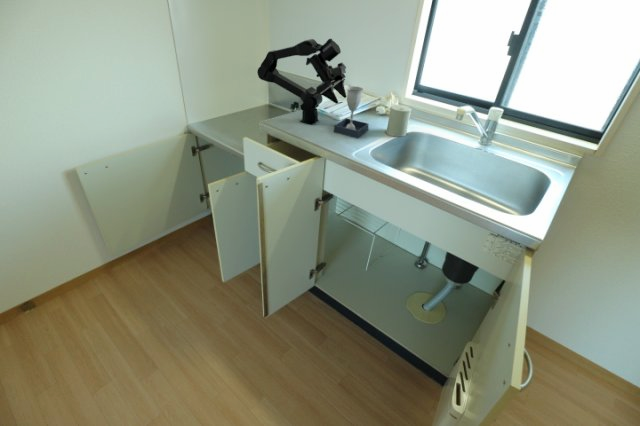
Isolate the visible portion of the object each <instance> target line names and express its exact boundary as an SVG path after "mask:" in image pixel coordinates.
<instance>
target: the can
mask: <svg viewBox="0 0 640 426" xmlns="http://www.w3.org/2000/svg"><path fill="white" fill-rule="evenodd" d="M389 109H390V110H389V115H388V121H387V125H386V130H385V132H386V134H387V135H389V136H391V137H396V138H403V137H405V136H407V133H408V127H409V121H410V117H411V113H412V107H411V106H408V105H406V104H392V105H390V107H389Z"/></svg>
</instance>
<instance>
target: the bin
mask: <svg viewBox="0 0 640 426" xmlns="http://www.w3.org/2000/svg"><path fill="white" fill-rule="evenodd" d="M349 123H350V118H347V117H345V118H344V119H342V120H341V121H339V122H338V123H336V124H334V127H333V132H334V133H336V134H341V135H345V136H349V137H351V138H355V139H358V138H360V137H361V136H362V135H363V134H365V133H366V132H367V131H369V125H370V124H369V123H367V122H363V121H359V120H355V119H354V120H353V121H352V123H353V125H354V126H355V129H356V130H352V129H348V128H346V126H347V125H348V124H349Z"/></svg>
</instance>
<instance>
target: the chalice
mask: <svg viewBox="0 0 640 426" xmlns="http://www.w3.org/2000/svg"><path fill="white" fill-rule="evenodd" d="M346 90H347V92H346V96H347V97H346V103H347V106H348V109H349V111H351V113H350V118H349V119H350V123H349V124H348V125H347V126H346V128H348V129H352V130H356V129H355V126H354V125H353V123H352V121H353V120H355V119H354V116H355V114H354V112H355V111H357V110H358V107H359V105H360V103H361V101H362V93H363V91H364V88H362V87H360V86H348V87H346Z"/></svg>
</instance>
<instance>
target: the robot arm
mask: <svg viewBox="0 0 640 426" xmlns="http://www.w3.org/2000/svg"><path fill="white" fill-rule="evenodd" d="M341 52H342V51H341V48H340V45H339V44H338V43H337V42H335V40H334V39H333V38H328V39H327V40H326V42H324V43H323V44H321V43H318V42H317V41H316V40H315V39H314V38H310V39H306V40H305V39H304V40H303V41H300V42H299V43H297V44H295V45H292V46H288V47H284V48H279V49H273V50H269V51H268V52H267V53H266V56H265V58H264V59H263V61H262V62H261V64H260V66H259V67H258V68H257V71H256V72H257V76H258V78H259V79H260V80H261V81H264V82H267V83H274V84H275V85H277V86H279V87H281V88H282V89H284V90H286V91H288V92H289V93H290V94H293V95H294V96H296V97H298V98H300V100H301V102H302V104H300V106H299V107H300V110H301V112H302V113H301V114H302V116H301V119H300V123H304V124H308V125H314V124H316V123H318V122H319V112H318V108H319V106H320V104H322V103H323V97H325V98H327V99H328V100H330V101H331V102H333V103H334V104H338V103H339V100H338V98H337V96H336V94H335V92H334V90H335V91H336V93H338V94H339V95H340V96H341V97H343V98H344V99H347V92H346V89H345V81H346V75H345V73H347V72H346V69H347V66H346V65H345V64H344V62H339V63H337V65H336V66H334V67H333V66H332V65H329V63H328V62H331V61H332V60H334V59H335V58H336V57H338V55H340V54H341ZM316 53H317V54H316ZM294 56H299V57H306V62H305V66H309V65H311V66H312V68H313V69H314V71H315V72H316V75H315V76H316V77H317V78H319V79H320V80H321V83H320V84H318V85H317V86H316V89H315V88H314V87H313V86H310V87H308V88H305V87H304V86H301V85H300V84H298V83H297V82H294V81H293V80H292V79H289V78H288V77H286V76H284V75H282V74H281V73H280V71H279V70H278V69H277V66H278V61H279V60H280V59H286V58H291V57H294ZM308 56H309V57H308Z"/></svg>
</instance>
